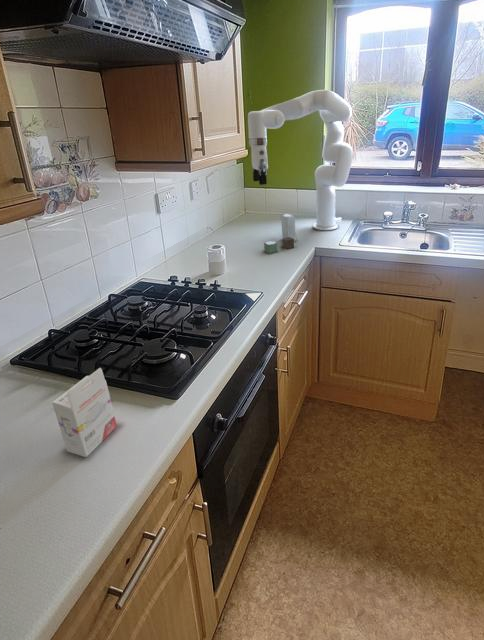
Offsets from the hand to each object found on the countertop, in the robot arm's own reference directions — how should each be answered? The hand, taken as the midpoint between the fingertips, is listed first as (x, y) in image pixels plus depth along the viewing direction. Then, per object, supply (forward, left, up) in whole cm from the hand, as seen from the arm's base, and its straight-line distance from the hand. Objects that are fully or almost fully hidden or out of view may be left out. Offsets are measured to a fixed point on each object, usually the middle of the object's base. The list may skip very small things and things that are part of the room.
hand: (259, 182), depth 180 cm
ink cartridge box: (+92, +83, -28) cm, 127 cm away
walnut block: (-6, +12, -28) cm, 31 cm away
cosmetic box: (-12, +4, -28) cm, 31 cm away
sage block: (+4, +12, -28) cm, 31 cm away
